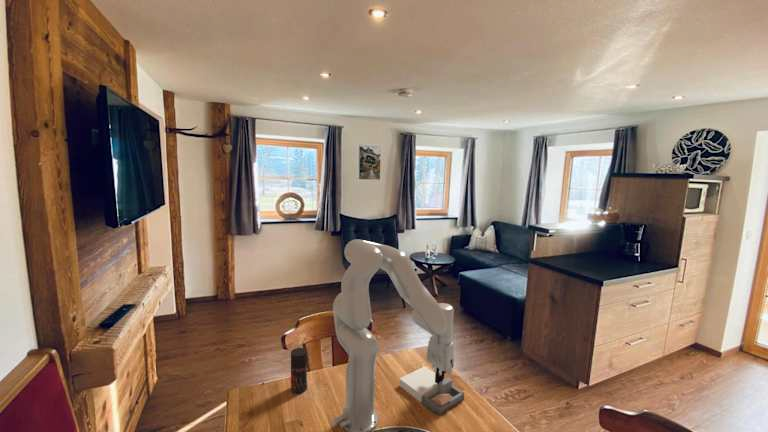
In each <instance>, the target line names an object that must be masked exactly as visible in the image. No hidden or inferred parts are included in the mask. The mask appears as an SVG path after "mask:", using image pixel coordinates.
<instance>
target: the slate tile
mask: <svg viewBox="0 0 768 432" xmlns="http://www.w3.org/2000/svg"><path fill="white" fill-rule="evenodd" d="M452 386H453V379H451V377H446V378H444V380H442V381H440V383H439V392H438V394H448V393H450V392H451V389H452Z"/></svg>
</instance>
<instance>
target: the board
mask: <svg viewBox="0 0 768 432" xmlns="http://www.w3.org/2000/svg"><path fill="white" fill-rule="evenodd" d="M398 380H399V381H398V386H399V387H400V388H402V389H403V390H404V391H406V392H407V393H408V394H409V395H411V396H412V397H413V398H415V399H416V400H417V401H419V402H420V403H422V396H425V397H427V398H429V397H430V396H432V395H434V394H436V393H437V392H439V385H438V384H437V383H435V372H434V370H431V369H429V368H428V367H427V366H426V365H425V366H423V367H421V368H418V369H417V370H415V371H412V372H410V373H408V374H406V375H404V376H401V377H400V378H399V379H398Z"/></svg>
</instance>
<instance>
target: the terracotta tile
mask: <svg viewBox="0 0 768 432" xmlns="http://www.w3.org/2000/svg"><path fill="white" fill-rule="evenodd" d="M450 400H451V397H450V394H439V395H437V396H435V397H434V398H432V399H431V401H432V402H433V403H435V404H436V405H444V404H445V403H447V402H449V401H450Z"/></svg>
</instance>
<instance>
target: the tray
mask: <svg viewBox="0 0 768 432" xmlns="http://www.w3.org/2000/svg"><path fill="white" fill-rule="evenodd" d="M448 394H450V397H451V400H450V401H449V402H447V403H445V404H444V405H436V404H435V403H433V402H432V401H431V399H432V398H434V397H435V396H437V395H439V394H438V392H437V393H436V394H434V395H432V396H430V397H429V398H427V397H425V396H422V402H421V404H422V405H424V406H425V407H426V408H428V409H429V410H430V411H432V412H433V413H434V414H435V415H437V416H440V415H441V414H443V413H445V412H446V411H448V410H449V409H451V408H453V407H454V406H456V405H458V404H459V403H461V402H462V401H464V400H465V392H463V391H462V390H460V389H458V388H457V387H456V386H454V385H452V389H451V392H450V393H448Z"/></svg>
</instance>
